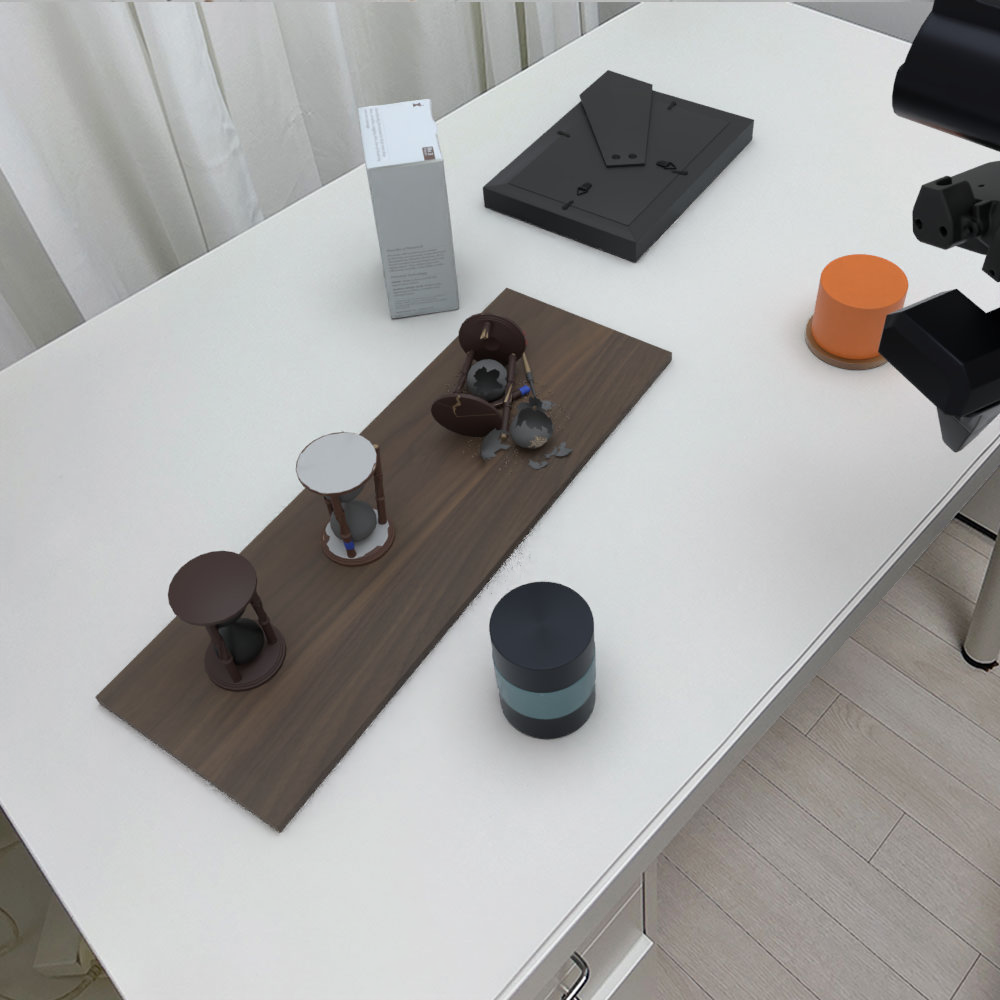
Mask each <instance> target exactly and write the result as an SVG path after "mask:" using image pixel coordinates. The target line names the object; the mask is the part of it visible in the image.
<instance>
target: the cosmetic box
mask: <svg viewBox="0 0 1000 1000" xmlns="http://www.w3.org/2000/svg"><path fill="white" fill-rule="evenodd" d="M357 113H358V124H359V133H360V140H361V147H362V154H363V159H364V165H365V171H366V176H367V182H368V188H369V193H370V200H371V206H372V213H373V217H374V223H375V230H376V235H377V241H378V247H379V253H380V259H381V266H382V272H383V278H384V284H385V291H386V297H387V304H388V309H389V315H390V318H392V319H400V318H406V317H407V318H408V317H415V316H420V315H421V316H422V315H426V314H428V315H429V314H434V313H443V312H447V311H448V312H449V311H455V310H458V309H459V308H460V300H459V290H458V277H457V276H458V275H457V267H456V260H455V249H454V247H455V246H454V239H453V229H452V222H451V221H452V220H451V213H450V211H451V210H450V203H449V196H448V187H447V186H448V185H447V180H446V171H445V163H444V162H445V161H444V157H443V153H442V149H441V145H440V140H439V137H438V130H439V129H438V125H437V122H436V121H435V119H434V110H433V103H432V99H430V98H424V99H417V100H416V99H415V100H407V101H400V102H394V103H388V104H387V103H386V104H380V105H379V104H377V105H368V106H367V105H366V106H362V107H358V109H357Z"/></svg>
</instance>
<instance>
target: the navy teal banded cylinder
mask: <svg viewBox="0 0 1000 1000" xmlns="http://www.w3.org/2000/svg"><path fill="white" fill-rule="evenodd" d="M490 614H491V615H490V618H489V624H488V631H489V638H490V645H491V657H492V662H493V668H494V669H493V670H494V675H495V681H496V687H497V689H498V690H497V691H498V696H499V701H500V702H499V703H500V707H501V710H502V713H503V715H504V717H505V718H506V720H507V721H508V723H509V724H510V725H511V726H512V727H513V728H514V729H516V730H517V731H518V732H520V733H521V734H524V735H525V736H528V737H531V738H535V739H540V740H555V739H559V738H563V737H566V736H568V735H571V734H573V733H574V732H576V731H578V730H579V729H580V728H581V727H583V725H584V724H586V723H587V721H588V719H590V717H591V715H592V714H593V711H594V708H595V704H596V681H597V680H596V679H597V662H596V661H597V657H596V642H595V619H594V615H593V611H592V609H591V607H590V605H589V604H588V602H587V600H585V598H584V597H583V596H582V595H581V594H580V593H579V592H577V591H575V590H574V589H573V588H571V587H569V586H567V585H564V584H562V583H558V582H552V581H533V582H527V583H525V584H522V585H519V586H517V587H514V588H513V589H511V590H510V591H508V592H507V593H505V594H504V595H503V596H502V597H501V598H500V599H499V601H497V602H496V604H495V606H494V608H493V610H492V611H491V613H490Z"/></svg>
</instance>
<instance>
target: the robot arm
mask: <svg viewBox="0 0 1000 1000" xmlns="http://www.w3.org/2000/svg"><path fill="white" fill-rule="evenodd" d="M891 93H892V94H891V107H892V111H893V113H894V114H895V115H896V116H898V117H901V118H902V119H905V120H908V121H910V122H913V123H917V124H920V125H923V126H925V127H927V128H931V129H934V130H937V131H939V132H941V133H945V134H948V135H950V136H953V137H957V138H959V139H963V140H965V141H968V142H970V143H974V144H975V145H978V146H982V147H985V148H988V149H990V150H993V151H995V152H999V153H1000V0H933V4H932V8H931V11H930V13H929V14H928V15H927V17H925V20H924V22H923V23H922V24H921V26H920V28H919V29H918V31H917V33H916V35H915V37H914V39H913V40H912V43H911V45H910V48H909V50H908V52H907V54H906V57H905V59H904V62H903V63H902V64H901V65H900V66H899V67H898V69H897V71H896V74H895V78H894V81H893V87H892V92H891ZM911 214H912V215H911V216H912V233H913V235H914V237H915V238H916V240H917V241H919V242H920V243H923V244H925V245H929V246H932V247H935V248H938V249H941V250H945V251H948V250H949V249H952V248H954V247H957V248H960V249H963V250H966V251H968V252H973V253H975V254H979V255H983V256H985V258H984V261H983V264H982V266H981V271H982V272H984V274H986V275H987V276H989V277H990V278H991V279H992V280H994V281H995V282H996V283H1000V160H995V161H989V162H986V163H984V164H980V165H978V166H975V167H972V168H969V169H968V170H964V171H962V172H960V173H957V174H954V175H951V176H950V175H945V176H942V177H939V178H937V179H934V180H932V181H929V182H927V183H924V184H922V185H921V186H920V189H919V191H918V194H917V196H916V200H915V203H914V204H913V208H912V212H911ZM878 353H879V354H880V355H882V356H883V357H884V358H885V359H886V360H887V363H889V364H890V365H891V367H893V368H894V369H895V370H896V371H898V373H899V374H901V375H902V376H903V378H904V379H906V380H907V381H908V382H909V383H910V384H911V385H912V386H914V388H916V389H917V390H918V391H919V392H920V393H921V394H922V395H923V396H924V397H925V399H927V400H928V401H929V402H930V403H932V404H933V405H934V407H936V412H937V417H938V423H939V427H940V428H939V429H940V434H941V439H942V442H943V443H944V445H946V446H947V447H948V449H950V450H951V451H952V452H953V453H958V452H960V451H962V450H964V449H965V448H966V447H967V446H968V445H969V444H971V442H973V441H975V439H976V438H977V437H978V436H979V435H980V434H981V433H982V432H983V431H984V430H985V429H986V428H987V427H988V426H989V425H990V424H991V423H992V422H993V421H994V420H995V419H996V418H997V417H999V415H1000V306H999V307H997V308H994V309H992V310H990V311H987V312H986V311H985V310H983V309H982V308H981V307H979V306H978V304H976V303H975V302H973V300H971V299H970V298H969V297H967V295H965V294H964V293H963V292H961V291H960V290H959V289H958V288H954V289H949V290H946V291H945V290H944V291H941V292H939V293H935V294H933V295H931V296H928V297H926V298H923V299H921V300H919V301H916V302H914V303H912V304H909V305H907V306H903V308H902V309H899V310H897V311H895V312H892V313H890V314H887V316H886V319H885V323H884V327H883V331H882V335H881V339H880V343H879V348H878Z"/></svg>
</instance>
